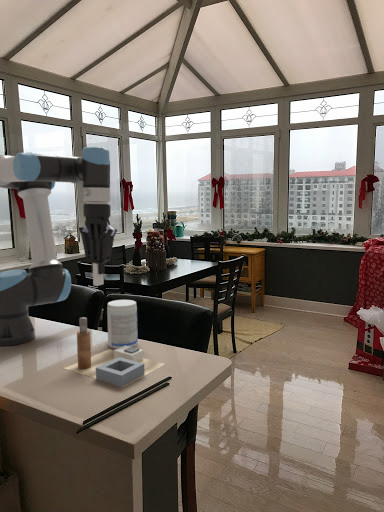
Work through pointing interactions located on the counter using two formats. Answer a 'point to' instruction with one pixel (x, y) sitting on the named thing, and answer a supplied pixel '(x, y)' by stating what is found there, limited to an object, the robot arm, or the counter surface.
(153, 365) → the plywood panel
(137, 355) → the block
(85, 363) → the awl
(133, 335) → the supplement tub
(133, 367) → the socket
